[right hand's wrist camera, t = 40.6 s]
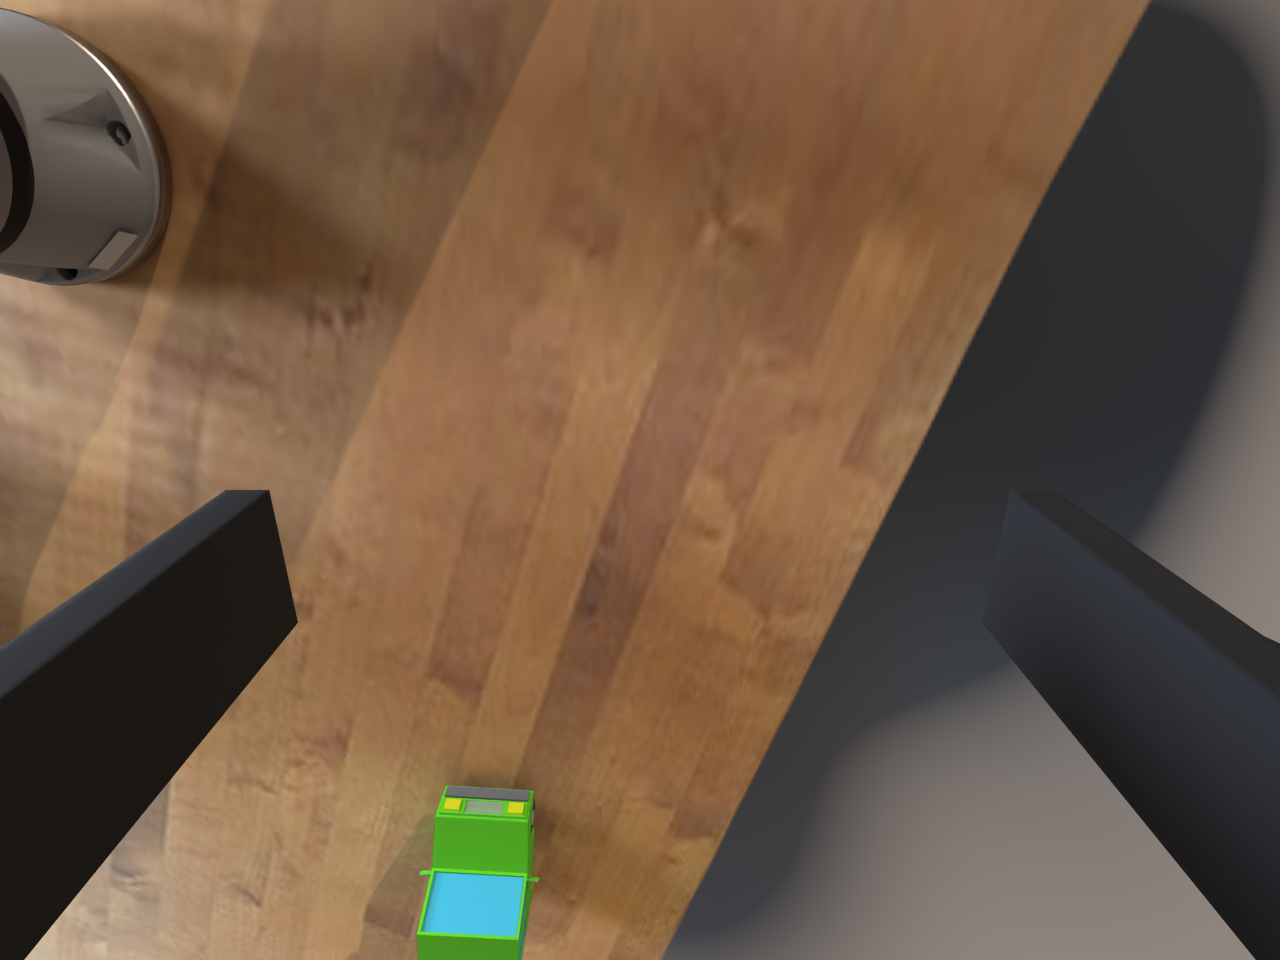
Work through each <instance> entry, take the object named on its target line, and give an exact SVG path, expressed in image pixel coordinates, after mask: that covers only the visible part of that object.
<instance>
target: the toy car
mask: <svg viewBox="0 0 1280 960" xmlns="http://www.w3.org/2000/svg"><path fill="white" fill-rule="evenodd" d="M534 810H535V800H534V791H530V790H514V789H497V788H481V787H465V786H448V785H446V786H445V789H444V792H443V795H442V798H441V801H440V804H439V807H438V810H437V813H436V816H435V829H434V846H433V864H432V871H420V874H419V875H431V876H430V880H429V884H428V889H427V893H426V897H425V902H424V906H423V910H422V915H421V919H420V923H419V928H418V932H417V944H418V960H522V956H523V950H524V943H525V937H526V930H527V924H528V917H529V911H530V905H531V898H532V891H533V885H531V882H532V881H534V882H538V880H539V878H540V877H532V873H533V860H534V827H533V822H534V813H535V812H534Z"/></svg>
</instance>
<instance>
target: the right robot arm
mask: <svg viewBox="0 0 1280 960" xmlns="http://www.w3.org/2000/svg"><path fill="white" fill-rule="evenodd" d="M171 201H172V177H171V169H170V163H169V158H168V154H167V150H166V146H165V143H164V140H163V138H162V135H161V132H160V130H159V128H158V125H157V123H156V121H155V119H154V117H153V115H152V113H151V111H150V109H149V107H148V106H147V104H146V103H145V101H144V99H143V98H142V96H141V95H140V93H139V92H138V91H137V89H136V88H135V87H134V85H133V84H132V82H131V81H130V80H129V79H128V78H127V77H126V75H125V74H124V73H123V72H122V71H121V70H120V69H119V68H118V67H117V66H116V65H115V64H114V63H113V62H112V61H111V60H110V59H109V58H108V57H107V56H106V55H104V54H103V53H102V52H101V51H100V50H98V49H97V48H96V47H94V46H93V45H92V44H90V43H89V42H88V41H86V40H84V39H83V38H81V37H80V36H78V35H76V34H75V33H73V32H71V31H69V30H67V29H65V28H63V27H61V26H59V25H56V24H54V23H51V22H49V21H46V20H42V19H39V18H36V17H33V16H29V15H26V14H23V13H19V12H16V11H13V10H8V9H3V8H0V274H4V275H8V276H12V277H16V278H20V279H24V280H28V281H33V282H38V283H44V284H50V285H78V284H85V283H92V282H99V281H104V280H108V279H112V278H115V277H118V276H120V275H123V274H125V273H127V272H128V271H130V270H132V269H133V268H135V267H136V266H138V265H139V264H140V263H142V262H143V261H144V260H145V259H146V258H147V257H148V256H149V255H150V253H151V252H152V251H153V250H154V248H155V247H156V245H157V244H158V242H159V241H160V239H161V237H162V235H163V233H164V230H165V228H166V225H167V222H168V218H169V214H170V209H171ZM297 623H298V621H297V616H296V611H295V607H294V602H293V598H292V593H291V588H290V584H289V579H288V575H287V570H286V565H285V561H284V556H283V552H282V547H281V543H280V538H279V533H278V529H277V524H276V520H275V515H274V510H273V506H272V501H271V497H270V492H269V490H225V491H224V492H222V493H221V494H219V495H218V496H217V497H215V498H214V499H212V500H211V501H209V502H208V503H207V504H205V505H204V506H202V507H201V508H199V509H198V510H197V511H195V512H194V513H192V514H191V515H189V516H188V517H186V518H185V519H184V520H182V521H181V522H179V523H178V524H176V525H175V526H174V527H172V528H171V529H169V530H168V531H166V532H165V533H164V534H162V535H161V536H159V537H158V538H156V539H155V540H153V541H152V542H151V543H149V544H148V545H146V546H145V547H143V548H142V549H141V550H139V551H138V552H136V553H135V554H133V555H132V556H131V557H129V558H128V559H126V560H125V561H123V562H122V563H120V564H119V565H118V566H116V567H115V568H113V569H112V570H110V571H109V572H108V573H106V574H105V575H103V576H102V577H100V578H99V579H98V580H96V581H95V582H93V583H92V584H90V585H89V586H87V587H86V588H85V589H83V590H82V591H80V592H79V593H77V594H76V595H75V596H73V597H72V598H70V599H69V600H67V601H66V602H65V603H63V604H62V605H60V606H59V607H57V608H56V609H54V610H53V611H52V612H50V613H49V614H47V615H46V616H44V617H43V618H42V619H40V620H39V621H37V622H36V623H34V624H33V625H32V626H30V627H29V628H27V629H26V630H24V631H23V632H22V633H20V634H19V635H17V636H16V637H14V638H13V639H11V640H10V641H9V642H7V643H6V644H4V645H3V646H1V647H0V960H24V959H25V958H26V957H27V956H28V954H29V953H30V952H31V951H32V949H33V948H34V947H35V946H36V945H37V943H38V942H39V941H40V940H41V938H42V937H43V936H44V935H45V933H46V932H47V931H48V930H49V929H50V927H51V926H52V925H53V924H54V922H55V921H56V920H57V919H58V917H59V916H60V915H61V914H62V913H63V911H64V910H65V909H66V908H67V906H68V905H69V904H70V903H71V901H72V900H73V899H74V898H75V897H76V895H77V894H78V893H79V892H80V890H81V889H82V888H83V887H84V885H85V884H86V883H87V882H88V880H89V879H90V878H91V877H92V876H93V874H94V873H95V872H96V871H97V869H98V868H99V867H100V866H101V864H102V863H103V862H104V861H105V860H106V858H107V857H108V856H109V855H110V853H111V852H112V851H113V850H114V848H115V847H116V846H117V845H118V844H119V842H120V841H121V840H122V839H123V837H124V836H125V835H126V834H127V832H128V831H129V830H130V829H131V828H132V826H133V825H134V824H135V823H136V821H137V820H138V819H139V818H140V816H141V815H142V814H143V813H144V812H145V810H146V809H147V808H148V807H149V805H150V804H151V803H152V802H153V800H154V799H155V798H156V797H157V796H158V794H159V793H160V792H161V791H162V789H163V788H164V787H165V786H166V784H167V783H168V782H169V781H170V780H171V778H172V777H173V776H174V775H175V773H176V772H177V771H178V770H179V768H180V767H181V766H182V765H183V764H184V762H185V761H186V760H187V759H188V757H189V756H190V755H191V754H192V752H193V751H194V750H195V749H196V747H197V746H198V745H199V744H200V743H201V741H202V740H203V739H204V738H205V736H206V735H207V734H208V733H209V731H210V730H211V729H212V728H213V727H214V725H215V724H216V723H217V722H218V720H219V719H220V718H221V717H222V715H223V714H224V713H225V712H226V711H227V709H228V708H229V707H230V706H231V704H232V703H233V702H234V701H235V699H236V698H237V697H238V696H239V695H240V693H241V692H242V691H243V690H244V688H245V687H246V686H247V685H248V683H249V682H250V681H251V680H252V679H253V677H254V676H255V675H256V674H257V672H258V671H259V670H260V669H261V667H262V666H263V665H264V664H265V663H266V661H267V660H268V659H269V658H270V656H271V655H272V654H273V653H274V651H275V650H276V649H277V648H278V647H279V645H280V644H281V643H282V642H283V640H284V639H285V638H286V637H287V635H288V634H289V633H290V632H291V630H292V629H293V628H294V627H295V626H296V624H297ZM982 623H983V624H984V626H985V627H986V628H987V629H988V630H989V632H990V633H991V634H992V635H993V637H994V638H995V639H996V640H997V642H998V643H999V644H1000V645H1001V646H1002V648H1003V649H1004V650H1005V651H1006V653H1007V654H1008V655H1009V656H1010V658H1011V659H1012V660H1013V661H1014V663H1015V664H1016V665H1017V666H1018V667H1019V669H1020V670H1021V671H1022V672H1023V674H1024V675H1025V676H1026V677H1027V679H1028V680H1029V681H1030V682H1031V683H1032V685H1033V686H1034V687H1035V688H1036V690H1037V691H1038V692H1039V693H1040V695H1041V696H1042V697H1043V698H1044V699H1045V701H1046V702H1047V703H1048V704H1049V706H1050V707H1051V708H1052V709H1053V710H1054V712H1055V713H1056V714H1057V715H1058V717H1059V718H1060V719H1061V720H1062V722H1063V723H1064V724H1065V725H1066V727H1067V728H1068V729H1069V730H1070V731H1071V733H1072V734H1073V735H1074V736H1075V738H1076V739H1077V740H1078V741H1079V743H1080V744H1081V745H1082V746H1083V747H1084V749H1085V750H1086V751H1087V752H1088V754H1089V755H1090V756H1091V757H1092V759H1093V760H1094V761H1095V762H1096V763H1097V765H1098V766H1099V767H1100V768H1101V770H1102V771H1103V772H1104V773H1105V775H1106V776H1107V777H1108V778H1109V779H1110V781H1111V782H1112V783H1113V784H1114V786H1115V787H1116V788H1117V789H1118V791H1119V792H1120V793H1121V794H1122V795H1123V797H1124V798H1125V799H1126V800H1127V802H1128V803H1129V804H1130V805H1131V807H1132V808H1133V809H1134V810H1135V812H1136V813H1137V814H1138V815H1139V816H1140V818H1141V819H1142V820H1143V821H1144V823H1145V824H1146V825H1147V826H1148V828H1149V829H1150V830H1151V831H1152V832H1153V834H1154V835H1155V836H1156V837H1157V839H1158V840H1159V841H1160V842H1161V844H1162V845H1163V846H1164V847H1165V848H1166V850H1167V851H1168V852H1169V853H1170V855H1171V856H1172V857H1173V858H1174V860H1175V861H1176V862H1177V863H1178V864H1179V866H1180V867H1181V868H1182V869H1183V871H1184V872H1185V873H1186V874H1187V876H1188V877H1189V878H1190V879H1191V880H1192V882H1193V883H1194V884H1195V885H1196V887H1197V888H1198V889H1199V890H1200V892H1201V893H1202V894H1203V895H1204V896H1205V898H1206V899H1207V900H1208V901H1209V903H1210V904H1211V905H1212V906H1213V908H1214V909H1215V910H1216V911H1217V913H1218V914H1219V915H1220V916H1221V917H1222V919H1223V920H1224V921H1225V922H1226V924H1227V925H1228V926H1229V927H1230V928H1231V930H1232V931H1233V932H1234V933H1235V935H1236V936H1237V937H1238V938H1239V940H1240V941H1241V942H1242V943H1243V945H1244V946H1245V947H1246V948H1247V949H1248V951H1249V952H1250V953H1251V954H1252V956H1253V957H1254V958H1255V959H1256V960H1280V644H1279V643H1277V642H1275V641H1273V640H1271V639H1269V638H1267V637H1265V636H1263V635H1261V634H1260V633H1258V632H1257V631H1256V630H1254V629H1253V628H1251V627H1250V626H1248V625H1247V624H1246V623H1244V622H1243V621H1241V620H1240V619H1238V618H1237V617H1236V616H1234V615H1233V614H1231V613H1230V612H1228V611H1227V610H1226V609H1224V608H1223V607H1221V606H1220V605H1218V604H1217V603H1215V602H1214V601H1213V600H1211V599H1210V598H1208V597H1207V596H1205V595H1204V594H1203V593H1201V592H1200V591H1198V590H1197V589H1195V588H1194V587H1192V586H1191V585H1190V584H1188V583H1187V582H1185V581H1184V580H1182V579H1181V578H1180V577H1178V576H1177V575H1175V574H1174V573H1172V572H1171V571H1170V570H1168V569H1167V568H1165V567H1164V566H1162V565H1161V564H1160V563H1158V562H1157V561H1155V560H1154V559H1152V558H1151V557H1149V556H1148V555H1147V554H1145V553H1144V552H1142V551H1141V550H1139V549H1138V548H1136V547H1135V546H1134V545H1132V544H1131V543H1129V542H1128V541H1127V540H1125V539H1124V538H1122V537H1121V536H1119V535H1118V534H1116V533H1115V532H1114V531H1112V530H1111V529H1109V528H1108V527H1106V526H1105V525H1103V524H1102V523H1101V522H1099V521H1098V520H1096V519H1095V518H1094V517H1092V516H1091V515H1089V514H1088V513H1086V512H1085V511H1083V510H1082V509H1081V508H1079V507H1078V506H1076V505H1075V504H1073V503H1072V502H1070V501H1069V500H1068V499H1066V498H1065V497H1063V496H1062V495H1061V494H1059V493H1058V492H1056V491H1055V490H1011V492H1010V497H1009V501H1008V506H1007V510H1006V515H1005V520H1004V524H1003V529H1002V533H1001V538H1000V543H999V547H998V552H997V556H996V561H995V566H994V570H993V575H992V579H991V584H990V588H989V593H988V598H987V602H986V607H985V611H984V616H983V621H982Z"/></svg>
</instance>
